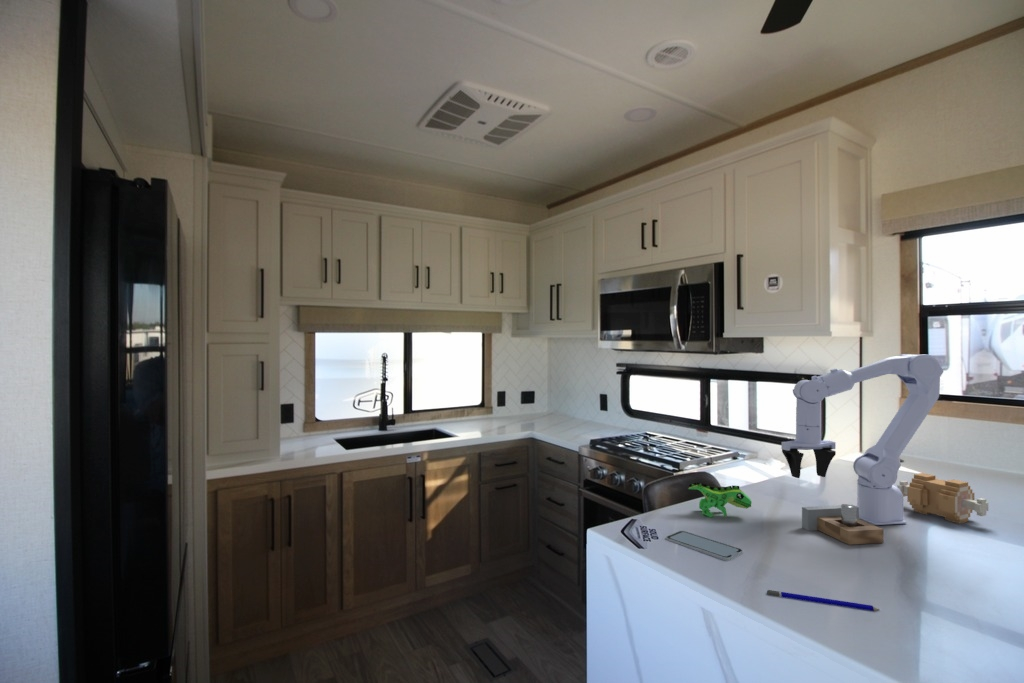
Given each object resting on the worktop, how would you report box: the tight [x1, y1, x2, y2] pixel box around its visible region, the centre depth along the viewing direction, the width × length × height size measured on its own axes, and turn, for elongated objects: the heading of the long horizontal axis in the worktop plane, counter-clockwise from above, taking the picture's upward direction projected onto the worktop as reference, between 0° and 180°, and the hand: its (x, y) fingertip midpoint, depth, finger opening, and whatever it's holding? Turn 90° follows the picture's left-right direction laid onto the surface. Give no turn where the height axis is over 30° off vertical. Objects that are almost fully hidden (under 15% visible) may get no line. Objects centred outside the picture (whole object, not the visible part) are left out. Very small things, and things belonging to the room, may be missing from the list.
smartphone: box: [665, 530, 744, 562], centre depth 108 cm, size 7×1×15 cm
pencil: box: [766, 589, 880, 612], centre depth 84 cm, size 17×1×1 cm, turn 71°
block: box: [816, 516, 885, 546], centre depth 114 cm, size 9×9×3 cm
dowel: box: [840, 503, 857, 527], centre depth 114 cm, size 3×3×7 cm
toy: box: [687, 482, 752, 518], centre depth 128 cm, size 6×16×10 cm, turn 78°
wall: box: [801, 504, 859, 531], centre depth 119 cm, size 14×2×5 cm, turn 99°
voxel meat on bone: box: [896, 472, 989, 524], centre depth 129 cm, size 10×18×10 cm, turn 24°
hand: (808, 476), depth 129 cm, fingers open, 7 cm apart
